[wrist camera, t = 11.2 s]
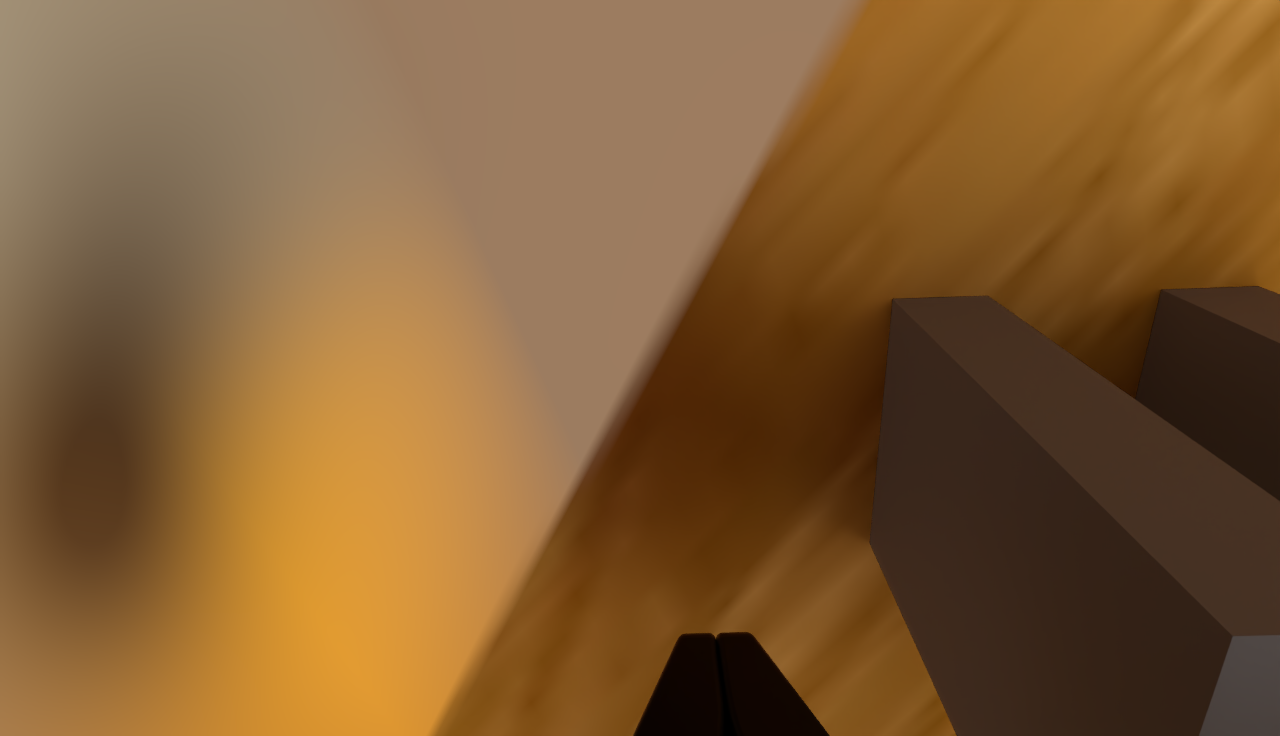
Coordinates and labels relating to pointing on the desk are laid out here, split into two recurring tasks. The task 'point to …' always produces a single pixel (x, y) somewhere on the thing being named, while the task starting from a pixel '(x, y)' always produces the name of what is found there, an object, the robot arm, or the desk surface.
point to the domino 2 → (1219, 375)
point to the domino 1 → (1066, 542)
